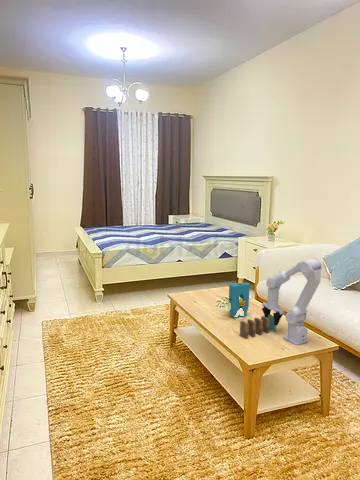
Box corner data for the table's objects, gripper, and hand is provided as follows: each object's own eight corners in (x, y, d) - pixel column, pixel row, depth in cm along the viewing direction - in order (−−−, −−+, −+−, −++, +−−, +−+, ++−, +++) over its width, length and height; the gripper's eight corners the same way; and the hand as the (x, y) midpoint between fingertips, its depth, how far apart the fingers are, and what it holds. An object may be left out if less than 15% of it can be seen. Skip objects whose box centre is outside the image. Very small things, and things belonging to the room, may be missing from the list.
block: (244, 313, 226) (245, 282, 223) (248, 316, 221) (250, 284, 218) (227, 316, 221) (228, 284, 218) (232, 319, 216) (233, 286, 213)
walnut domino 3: (262, 334, 195) (263, 320, 194) (260, 335, 194) (260, 321, 193) (256, 331, 199) (256, 317, 198) (253, 332, 198) (254, 317, 197)
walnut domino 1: (248, 338, 190) (248, 323, 189) (245, 339, 189) (246, 324, 188) (242, 334, 194) (242, 320, 193) (239, 335, 194) (240, 321, 192)
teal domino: (275, 331, 199) (276, 317, 198) (273, 332, 199) (274, 317, 197) (269, 328, 204) (269, 314, 202) (267, 328, 203) (267, 315, 202)
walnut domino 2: (255, 336, 192) (256, 322, 191) (253, 337, 192) (253, 322, 190) (249, 333, 197) (249, 319, 195) (246, 333, 196) (247, 319, 195)
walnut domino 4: (269, 333, 197) (269, 318, 196) (266, 333, 196) (267, 319, 195) (262, 329, 201) (263, 315, 200) (260, 330, 201) (261, 316, 199)
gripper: (288, 301, 194) (286, 325, 196) (269, 294, 207) (268, 317, 209) (278, 303, 191) (277, 328, 193) (259, 296, 203) (258, 319, 205)
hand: (271, 322), depth 201 cm, fingers open, 6 cm apart
